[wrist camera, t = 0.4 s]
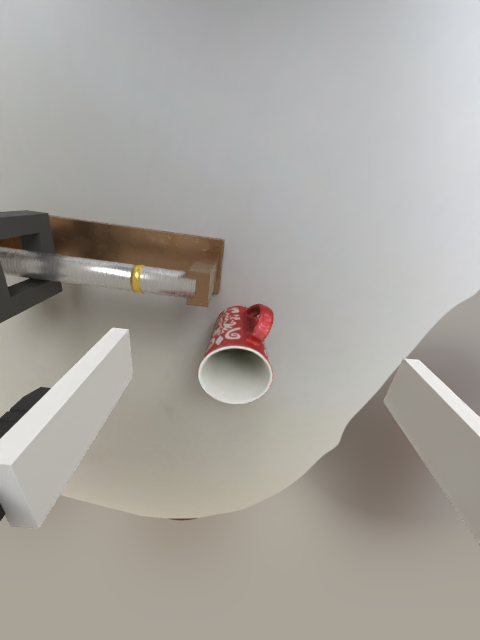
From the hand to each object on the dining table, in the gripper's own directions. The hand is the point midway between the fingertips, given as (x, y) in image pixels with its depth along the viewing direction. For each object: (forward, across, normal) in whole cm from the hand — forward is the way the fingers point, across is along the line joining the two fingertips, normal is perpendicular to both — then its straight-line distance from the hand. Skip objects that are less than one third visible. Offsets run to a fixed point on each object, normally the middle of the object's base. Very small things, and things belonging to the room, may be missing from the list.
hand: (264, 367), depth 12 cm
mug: (+28, 0, -11) cm, 30 cm away
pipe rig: (+28, -19, -2) cm, 34 cm away
